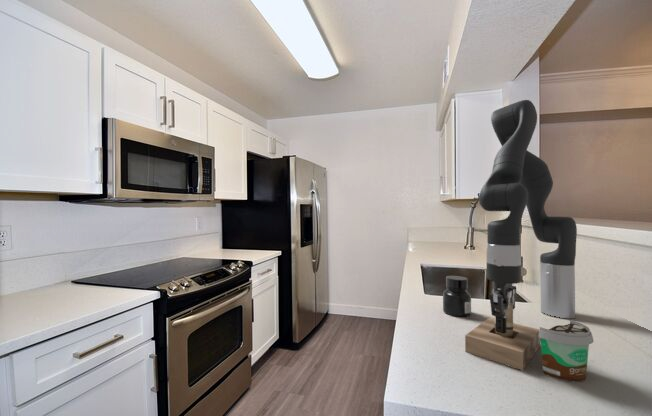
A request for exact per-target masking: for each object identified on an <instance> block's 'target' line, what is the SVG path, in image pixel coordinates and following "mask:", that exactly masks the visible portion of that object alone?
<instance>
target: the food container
mask: <svg viewBox="0 0 652 416" xmlns="http://www.w3.org/2000/svg"><path fill="white" fill-rule="evenodd" d="M539 329H540V330H539V335H538V337H540V340H541V345H540V350H541V351H540V352H541V363H542V364H541V368H542V374H543V373H544V375H545V376H548V375H549V376H548V377H551V378H554V379H557V380H560V381H561V380H562V381H565V380H566V382H572V381H575V382H574V383H580V382H584V381H586V380H587V372H588V371H587V370H588V359H589V350H590V349H589V348H590V345H591V344H593V343H594V337H593V333H592V332H591V329H590V327H588V326H587V325H585V324H583V323H581V322H579V321H576V320H573V319H570V320H569V323H567V324H565V325H559V324H558V325H554V326H553V327H551V328H549V329H548V328H545V327H541V326H539Z"/></svg>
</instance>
